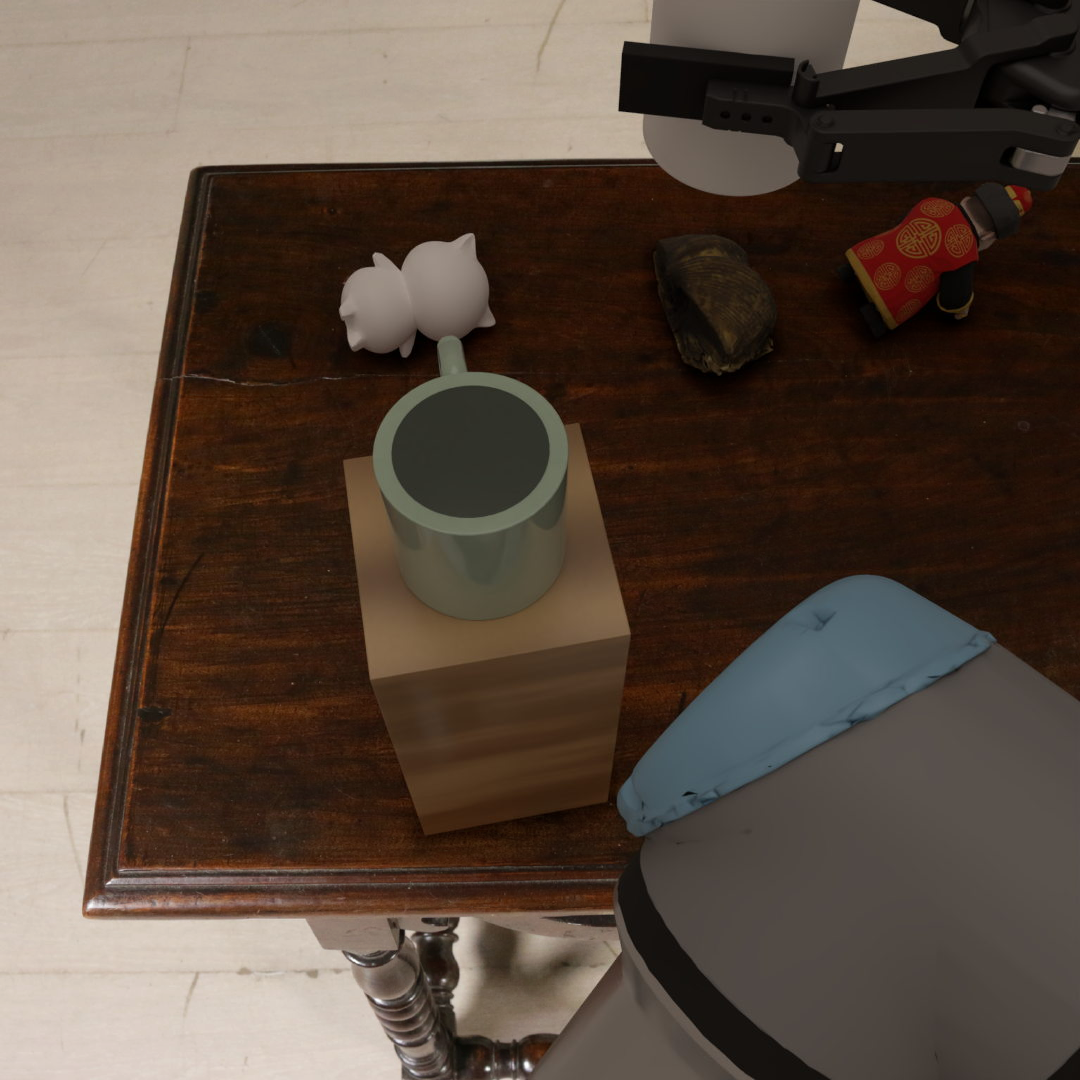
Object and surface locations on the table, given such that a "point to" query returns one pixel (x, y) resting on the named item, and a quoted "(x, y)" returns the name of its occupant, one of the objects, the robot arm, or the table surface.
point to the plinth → (497, 673)
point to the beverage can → (752, 28)
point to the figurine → (931, 254)
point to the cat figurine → (417, 297)
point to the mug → (474, 490)
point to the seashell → (714, 302)
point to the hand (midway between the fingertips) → (635, 5)
